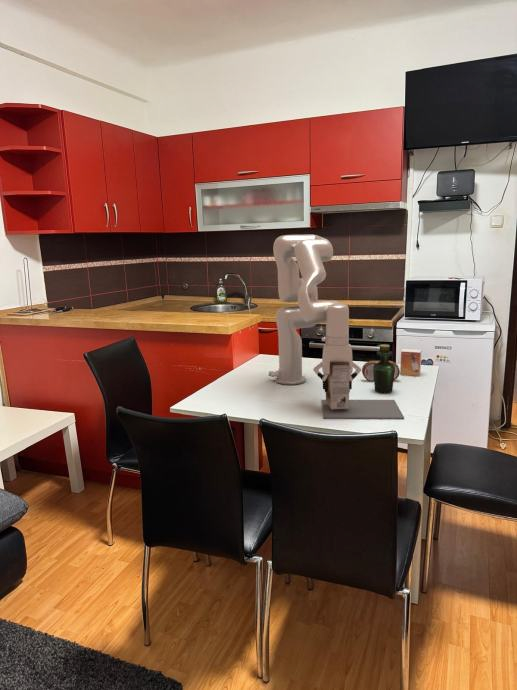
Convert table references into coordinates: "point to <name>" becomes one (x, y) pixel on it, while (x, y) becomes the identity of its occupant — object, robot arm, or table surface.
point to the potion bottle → (384, 371)
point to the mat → (364, 410)
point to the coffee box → (338, 385)
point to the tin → (369, 372)
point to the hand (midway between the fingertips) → (337, 390)
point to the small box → (410, 362)
